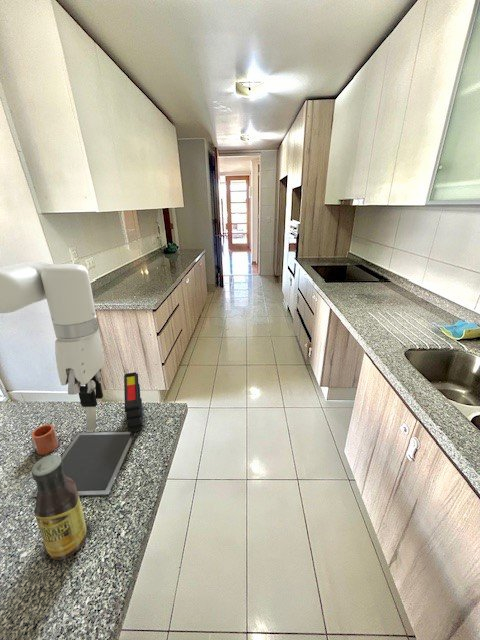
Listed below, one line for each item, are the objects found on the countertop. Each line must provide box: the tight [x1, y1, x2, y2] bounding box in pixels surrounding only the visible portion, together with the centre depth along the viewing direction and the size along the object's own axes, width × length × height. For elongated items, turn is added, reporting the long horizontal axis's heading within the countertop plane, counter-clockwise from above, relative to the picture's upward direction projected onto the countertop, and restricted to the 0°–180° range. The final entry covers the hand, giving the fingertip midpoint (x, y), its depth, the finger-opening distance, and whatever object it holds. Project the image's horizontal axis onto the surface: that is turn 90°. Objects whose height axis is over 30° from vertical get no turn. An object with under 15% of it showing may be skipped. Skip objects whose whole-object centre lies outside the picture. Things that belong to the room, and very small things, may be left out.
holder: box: [31, 423, 59, 455], centre depth 67 cm, size 5×5×6 cm
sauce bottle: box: [31, 454, 87, 561], centre depth 45 cm, size 7×6×20 cm
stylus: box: [84, 380, 97, 433], centre depth 59 cm, size 2×2×14 cm
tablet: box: [32, 431, 137, 498], centre depth 64 cm, size 16×18×1 cm
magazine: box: [123, 371, 144, 432], centre depth 76 cm, size 4×13×15 cm, turn 21°
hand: (92, 401), depth 59 cm, fingers closed on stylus, 2 cm apart
